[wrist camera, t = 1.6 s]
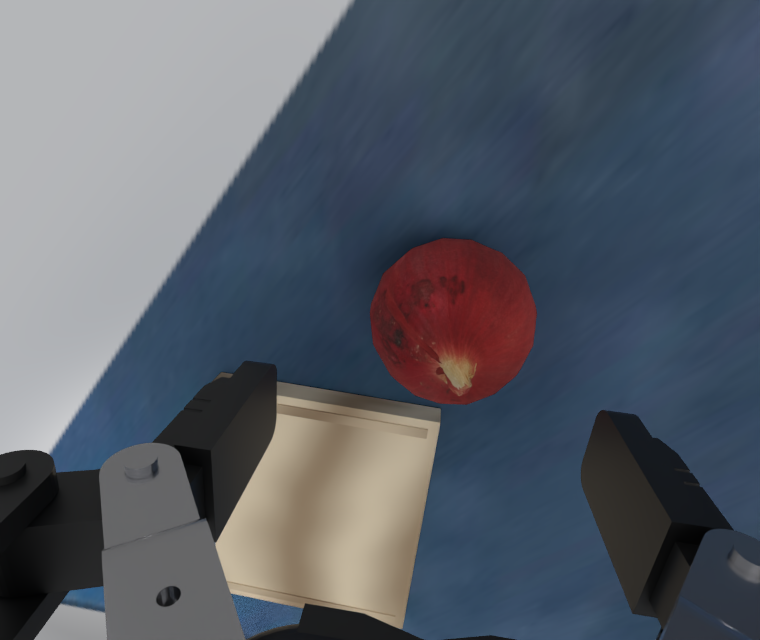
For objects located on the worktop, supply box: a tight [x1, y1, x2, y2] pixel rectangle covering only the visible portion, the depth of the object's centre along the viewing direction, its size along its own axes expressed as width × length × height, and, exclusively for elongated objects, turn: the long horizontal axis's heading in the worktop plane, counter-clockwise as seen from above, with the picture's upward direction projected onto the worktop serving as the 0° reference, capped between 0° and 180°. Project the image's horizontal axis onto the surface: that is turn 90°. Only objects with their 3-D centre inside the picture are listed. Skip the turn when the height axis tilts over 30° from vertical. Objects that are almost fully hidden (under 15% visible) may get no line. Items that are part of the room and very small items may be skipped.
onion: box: [370, 238, 537, 405], centre depth 17 cm, size 6×6×8 cm
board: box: [212, 372, 441, 629], centre depth 25 cm, size 11×14×1 cm
